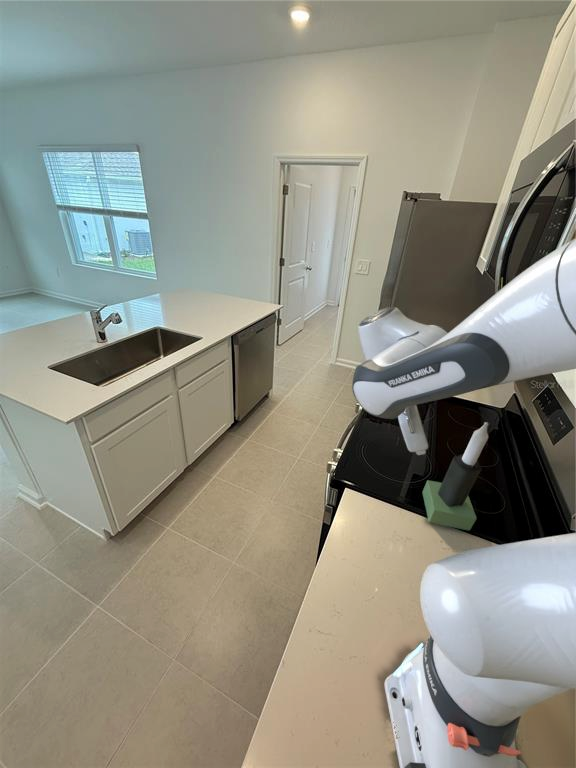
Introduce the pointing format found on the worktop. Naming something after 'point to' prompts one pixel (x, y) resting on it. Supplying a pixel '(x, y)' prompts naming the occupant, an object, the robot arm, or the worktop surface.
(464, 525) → the green block
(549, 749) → the worktop surface
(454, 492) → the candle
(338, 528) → the worktop surface
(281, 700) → the worktop surface
